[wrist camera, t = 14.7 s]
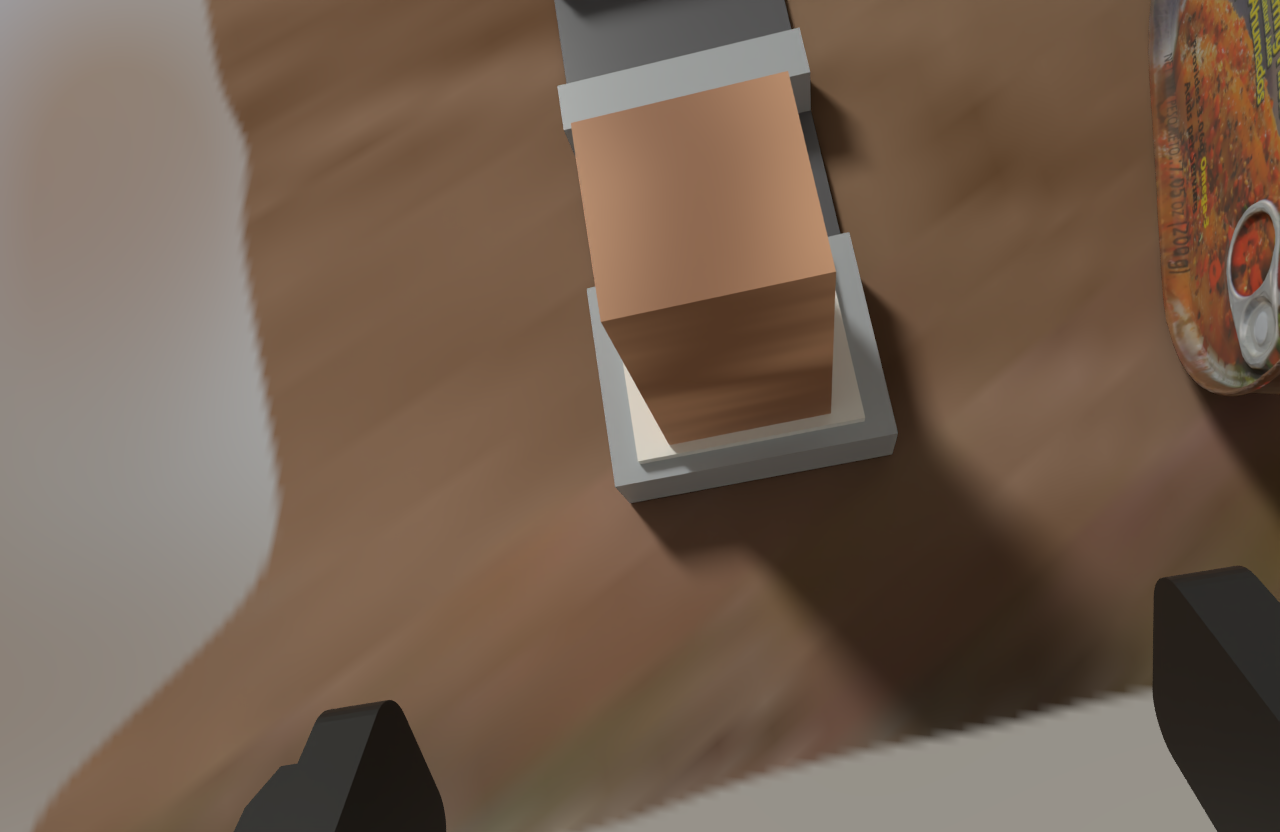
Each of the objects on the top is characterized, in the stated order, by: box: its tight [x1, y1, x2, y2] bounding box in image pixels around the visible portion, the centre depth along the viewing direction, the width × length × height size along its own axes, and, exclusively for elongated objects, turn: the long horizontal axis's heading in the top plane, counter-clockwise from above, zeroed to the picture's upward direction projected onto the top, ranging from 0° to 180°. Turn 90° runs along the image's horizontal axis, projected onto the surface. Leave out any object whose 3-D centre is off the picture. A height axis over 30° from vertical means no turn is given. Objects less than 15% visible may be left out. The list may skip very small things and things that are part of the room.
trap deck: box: [554, 0, 898, 503], centre depth 28 cm, size 7×22×2 cm, turn 8°
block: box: [571, 71, 836, 445], centre depth 21 cm, size 4×4×8 cm
